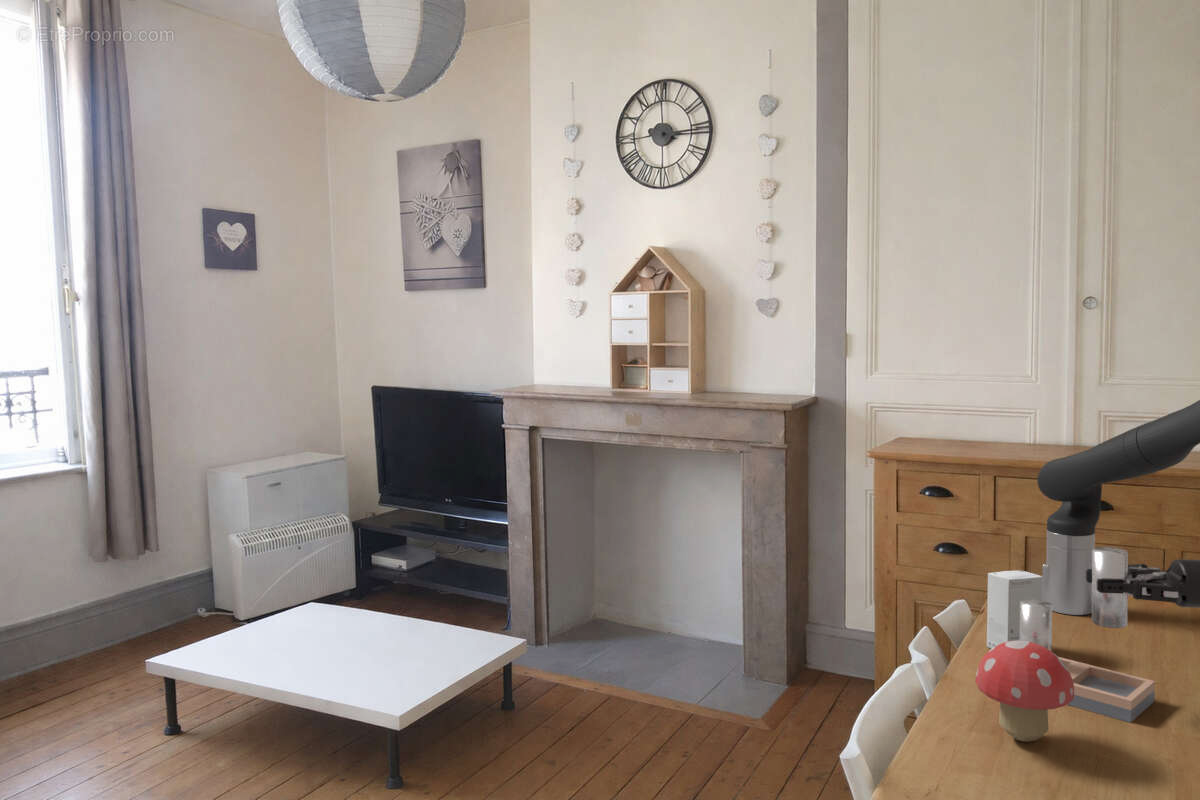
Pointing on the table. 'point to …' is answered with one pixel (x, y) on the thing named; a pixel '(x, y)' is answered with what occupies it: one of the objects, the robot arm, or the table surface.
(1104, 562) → the cylinder
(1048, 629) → the seated billet
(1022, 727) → the decorative mushroom
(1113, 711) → the pink rectangular tray
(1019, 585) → the skincare box
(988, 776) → the table surface
